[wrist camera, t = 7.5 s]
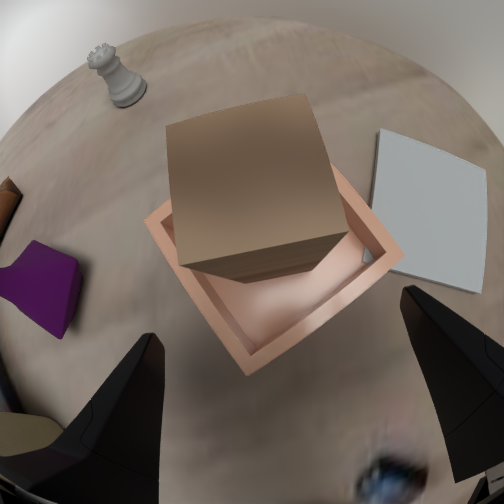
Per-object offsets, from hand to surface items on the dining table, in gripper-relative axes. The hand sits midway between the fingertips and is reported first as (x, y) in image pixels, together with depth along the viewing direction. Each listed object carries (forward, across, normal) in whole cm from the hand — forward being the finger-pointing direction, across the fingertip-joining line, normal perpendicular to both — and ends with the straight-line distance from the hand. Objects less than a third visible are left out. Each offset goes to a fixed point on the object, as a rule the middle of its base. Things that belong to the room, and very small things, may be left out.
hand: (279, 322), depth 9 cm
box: (+12, 0, +5) cm, 13 cm away
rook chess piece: (+26, +12, -10) cm, 31 cm away
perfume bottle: (+12, +21, +5) cm, 25 cm away
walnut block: (+11, 0, +4) cm, 12 cm away
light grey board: (+12, -14, +5) cm, 19 cm away
